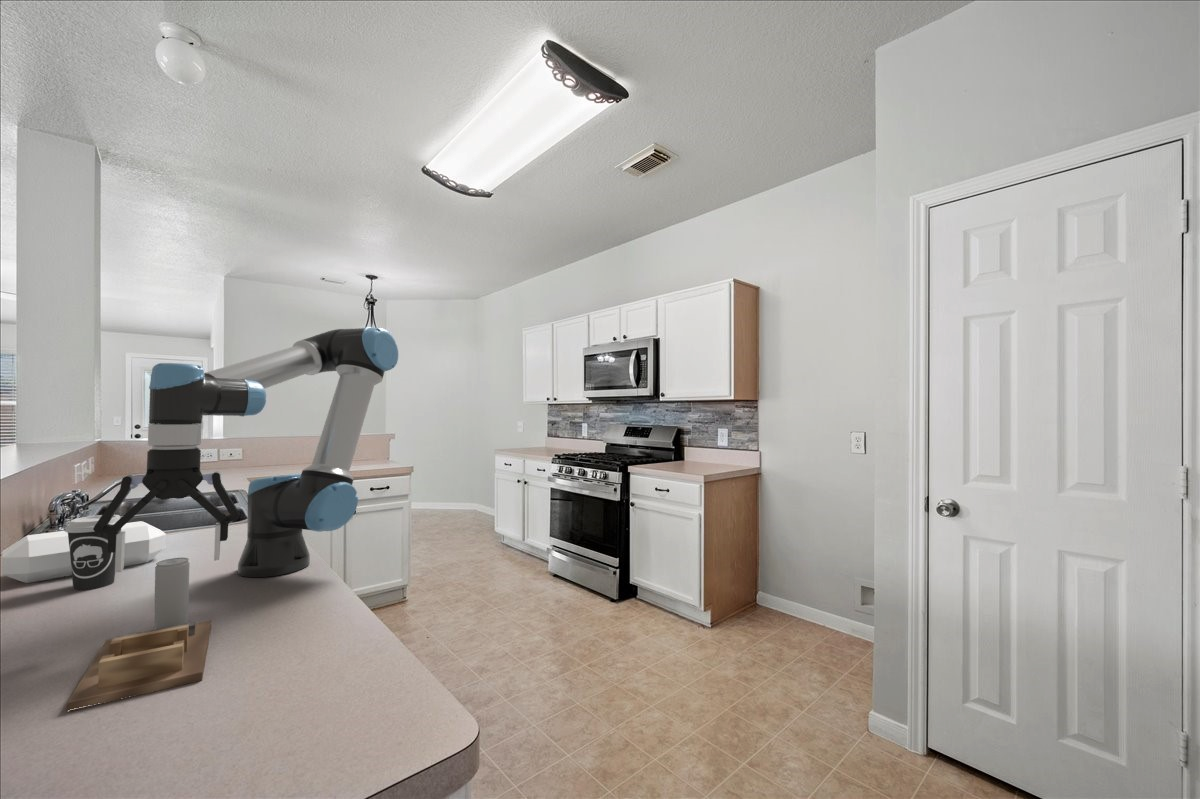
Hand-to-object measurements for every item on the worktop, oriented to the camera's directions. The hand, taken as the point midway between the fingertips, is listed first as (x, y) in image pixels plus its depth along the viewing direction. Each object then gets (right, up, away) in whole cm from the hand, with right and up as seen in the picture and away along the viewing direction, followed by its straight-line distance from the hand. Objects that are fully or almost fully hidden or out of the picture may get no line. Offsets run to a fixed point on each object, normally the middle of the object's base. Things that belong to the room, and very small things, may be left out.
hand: (170, 564), depth 92 cm
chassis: (+8, -11, -13) cm, 19 cm away
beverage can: (0, -12, 0) cm, 12 cm away
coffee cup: (-36, -12, +22) cm, 43 cm away
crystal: (-49, -12, +33) cm, 60 cm away
